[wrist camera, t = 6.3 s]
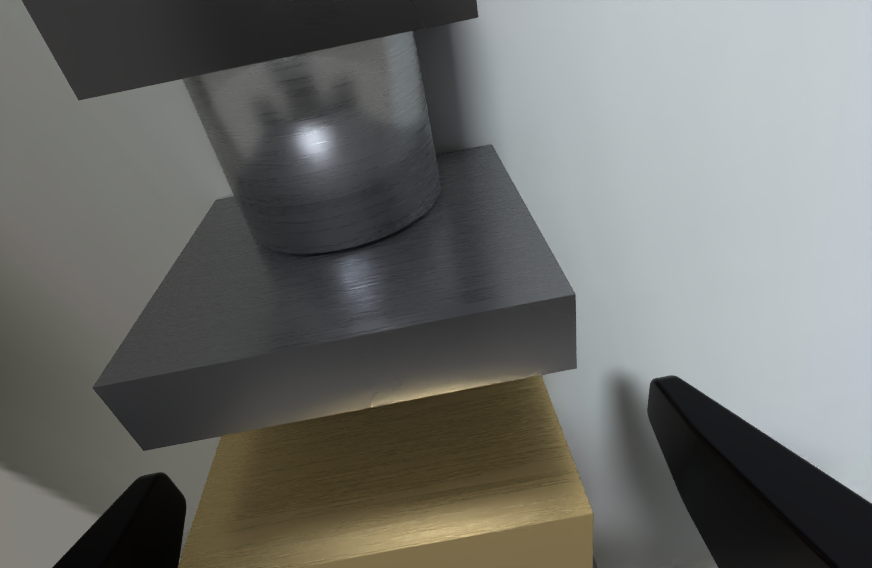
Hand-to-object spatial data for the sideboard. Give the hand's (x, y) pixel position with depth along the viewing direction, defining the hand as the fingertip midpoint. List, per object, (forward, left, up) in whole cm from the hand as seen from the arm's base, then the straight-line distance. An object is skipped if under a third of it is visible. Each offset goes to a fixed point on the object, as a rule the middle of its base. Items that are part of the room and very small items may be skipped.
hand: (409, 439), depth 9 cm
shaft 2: (-6, 0, -2) cm, 6 cm away
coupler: (0, 0, -2) cm, 2 cm away
